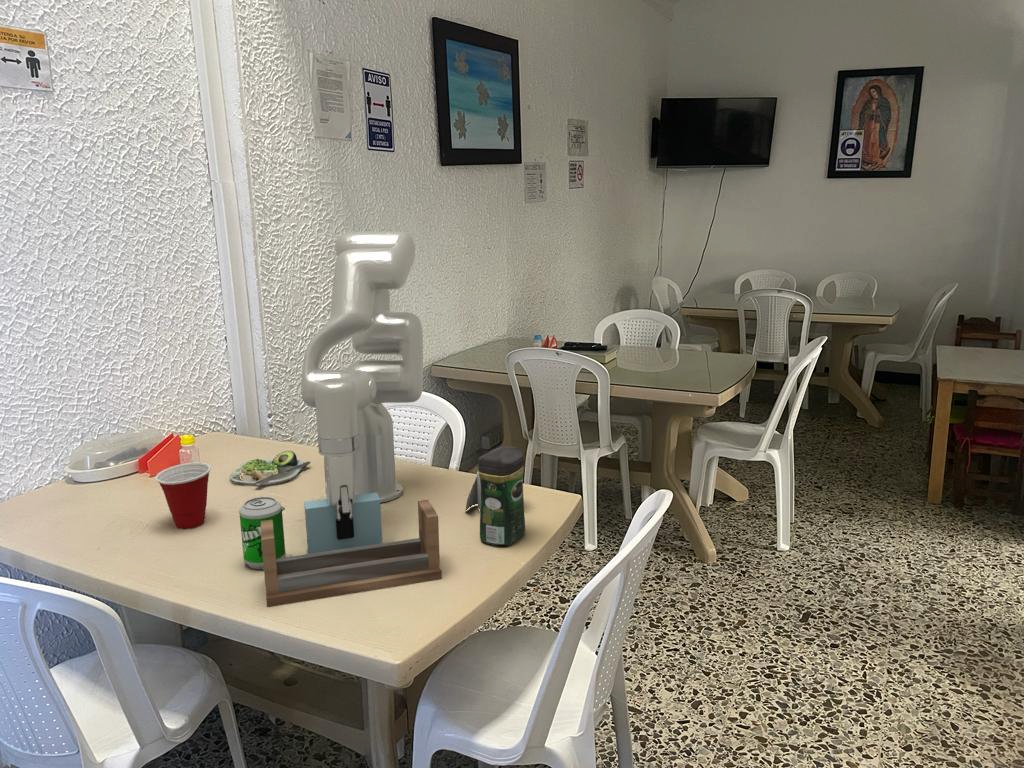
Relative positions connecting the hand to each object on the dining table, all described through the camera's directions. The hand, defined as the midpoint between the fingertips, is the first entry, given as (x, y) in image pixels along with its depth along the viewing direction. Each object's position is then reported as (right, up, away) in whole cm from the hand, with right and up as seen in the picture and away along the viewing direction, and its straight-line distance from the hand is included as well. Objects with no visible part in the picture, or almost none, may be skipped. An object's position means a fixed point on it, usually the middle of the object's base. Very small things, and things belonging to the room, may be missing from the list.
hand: (344, 532), depth 148 cm
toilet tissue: (+29, +1, +19) cm, 35 cm away
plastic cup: (-36, -1, +13) cm, 38 cm away
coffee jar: (+31, -2, +5) cm, 31 cm away
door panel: (0, -3, +1) cm, 3 cm away
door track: (+4, -6, -11) cm, 13 cm away
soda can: (-14, -5, -5) cm, 15 cm away
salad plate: (-28, +6, +43) cm, 52 cm away
